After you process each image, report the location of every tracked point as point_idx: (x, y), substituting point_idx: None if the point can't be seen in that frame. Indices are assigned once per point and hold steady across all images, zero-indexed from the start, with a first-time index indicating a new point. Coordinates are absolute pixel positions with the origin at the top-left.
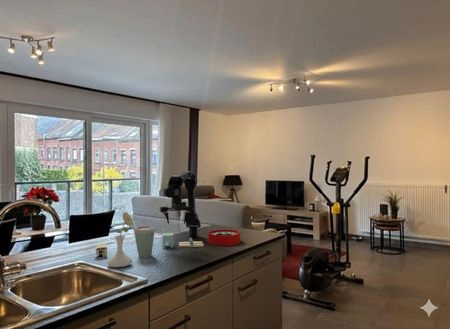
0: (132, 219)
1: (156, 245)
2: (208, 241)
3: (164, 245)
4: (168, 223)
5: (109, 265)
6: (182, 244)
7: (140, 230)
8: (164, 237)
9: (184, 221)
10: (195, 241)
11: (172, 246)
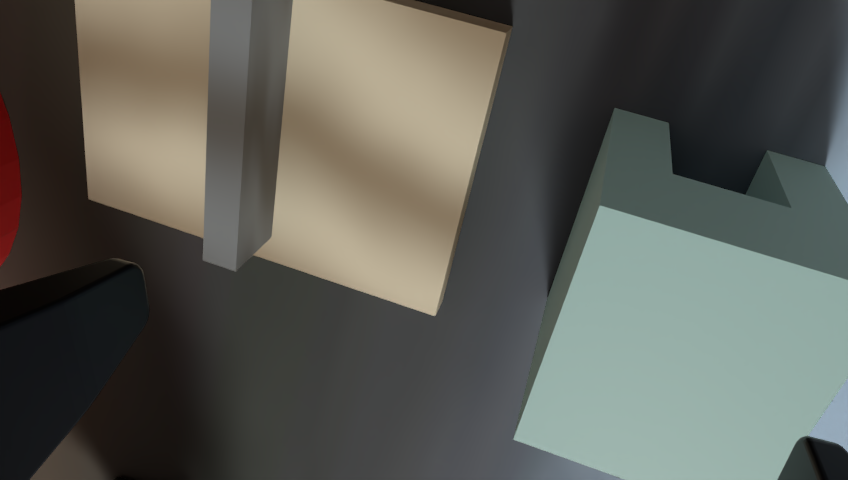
0: None
1: None
2: (2, 154)
3: (797, 173)
4: (838, 467)
5: None
6: (421, 119)
7: None
8: (835, 255)
9: (57, 293)
10: (177, 221)
11: (629, 118)
